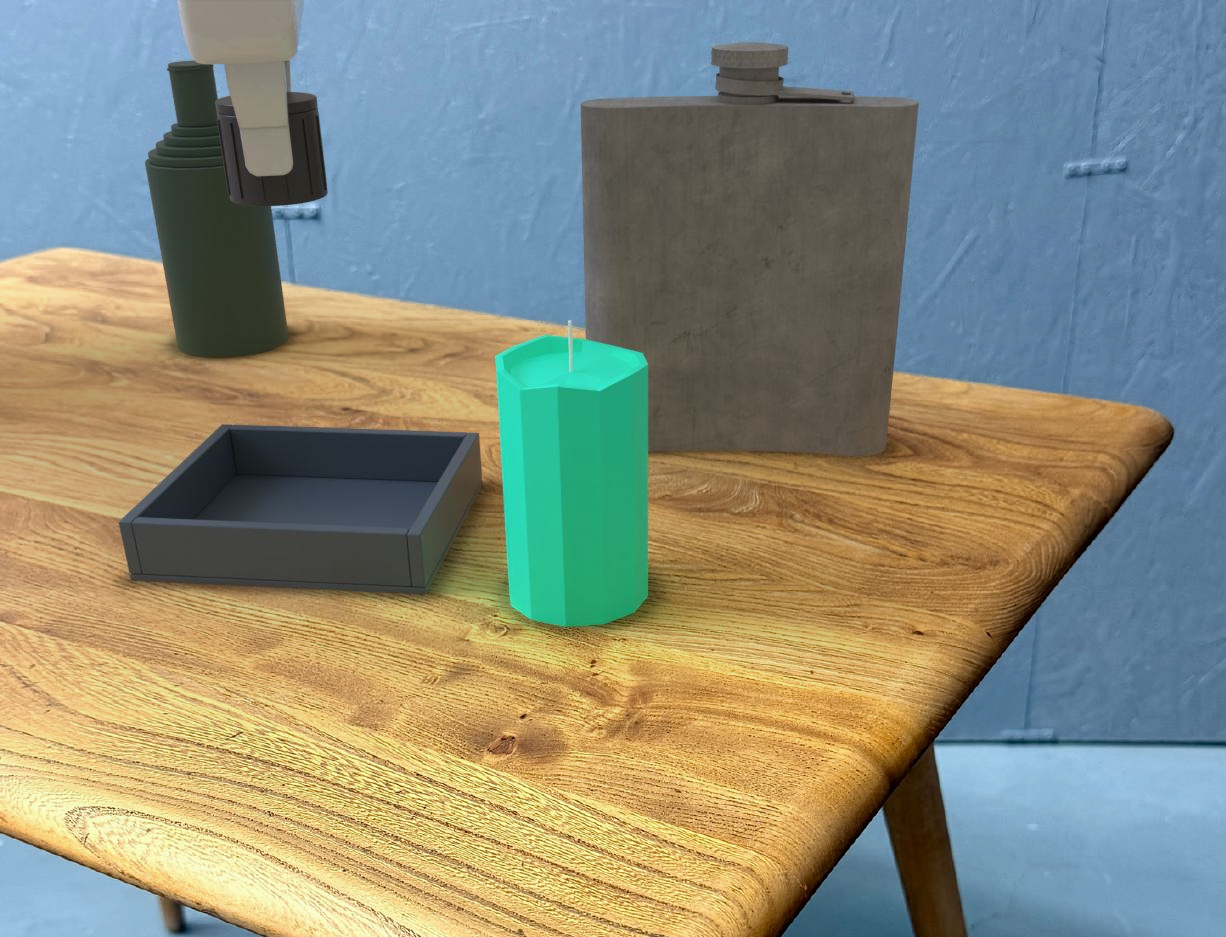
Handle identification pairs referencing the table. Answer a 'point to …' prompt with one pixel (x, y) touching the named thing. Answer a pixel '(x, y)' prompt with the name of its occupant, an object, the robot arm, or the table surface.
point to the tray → (307, 509)
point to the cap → (307, 157)
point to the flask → (211, 234)
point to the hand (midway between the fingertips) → (273, 161)
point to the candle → (574, 478)
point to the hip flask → (751, 255)
